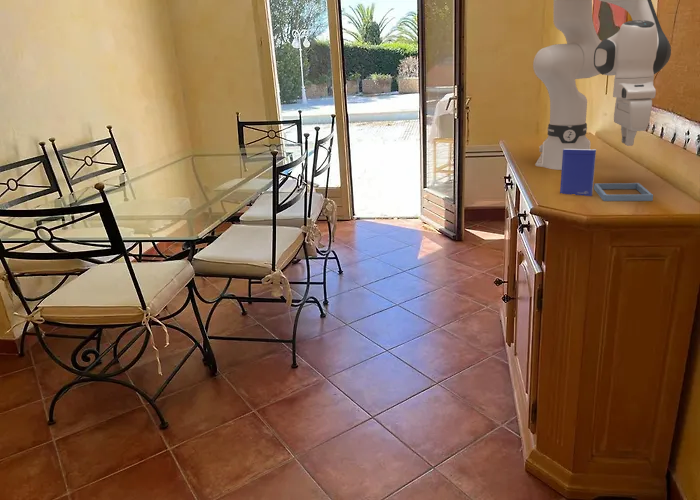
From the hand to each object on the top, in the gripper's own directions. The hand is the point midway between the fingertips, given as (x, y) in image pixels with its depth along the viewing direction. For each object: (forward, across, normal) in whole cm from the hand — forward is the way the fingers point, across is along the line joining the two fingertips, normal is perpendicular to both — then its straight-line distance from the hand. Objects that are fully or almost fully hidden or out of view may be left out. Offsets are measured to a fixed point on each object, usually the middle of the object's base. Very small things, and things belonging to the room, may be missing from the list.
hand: (627, 144), depth 142 cm
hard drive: (+14, -1, -12) cm, 18 cm away
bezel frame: (+13, 0, 0) cm, 13 cm away
